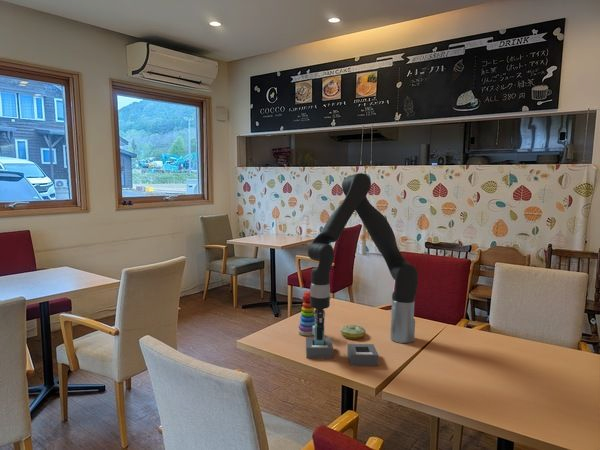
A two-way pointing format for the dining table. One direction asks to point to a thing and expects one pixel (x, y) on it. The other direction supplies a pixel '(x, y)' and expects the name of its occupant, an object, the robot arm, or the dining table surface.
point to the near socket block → (362, 355)
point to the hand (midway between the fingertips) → (319, 337)
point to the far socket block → (319, 349)
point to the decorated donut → (353, 331)
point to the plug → (316, 342)
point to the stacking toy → (307, 317)
